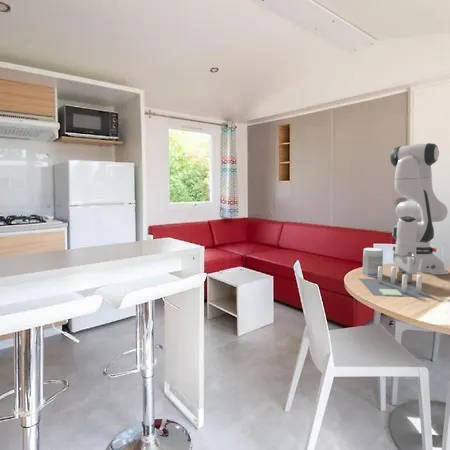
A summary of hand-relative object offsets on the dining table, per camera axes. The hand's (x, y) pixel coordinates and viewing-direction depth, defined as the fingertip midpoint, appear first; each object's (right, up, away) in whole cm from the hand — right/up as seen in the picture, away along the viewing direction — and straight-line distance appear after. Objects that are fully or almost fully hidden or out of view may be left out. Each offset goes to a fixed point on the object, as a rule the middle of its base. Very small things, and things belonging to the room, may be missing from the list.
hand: (404, 278), depth 165 cm
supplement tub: (-10, -2, +14) cm, 17 cm away
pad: (-15, -4, -17) cm, 23 cm away
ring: (0, -1, 0) cm, 1 cm away
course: (-10, -4, -8) cm, 14 cm away
